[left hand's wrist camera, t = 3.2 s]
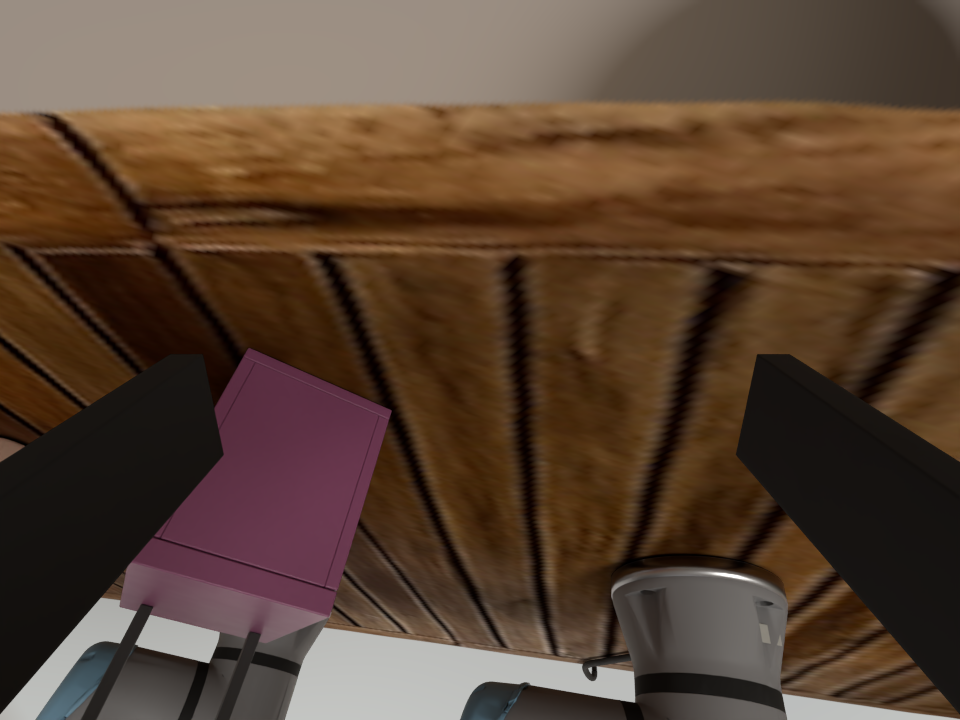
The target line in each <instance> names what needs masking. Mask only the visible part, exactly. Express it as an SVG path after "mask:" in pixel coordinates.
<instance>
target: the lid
mask: <svg viewBox="0 0 960 720" xmlns="http://www.w3.org/2000/svg"><path fill="white" fill-rule="evenodd" d="M336 594H337V592H335V591H332V590H329V589H325V588H322V587H319V586H315V585H312V584H309V583H305V582H302V581H298V580H295V579H292V578H288V577H285V576H282V575H278V574H275V573H272V572H268V571H265V570H261V569H258V568H255V567H251V566H248V565H245V564H241V563H238V562H235V561H231V560H228V559H224V558H221V557H218V556H214V555H211V554H208V553H204V552H201V551H198V550H194V549H191V548H187V547H184V546H181V545H177V544H174V543H171V542H167V541H164V540H161V539H157V538H154V537H153V538H152V539H151V540H150V541H149V542H148V543H147V545H146V546H145V547H144V548H143V549H142V550H141V552H140V553H139V554H138V555H137V556H136V557H135V559H134V560H133V561H132V562H131V563H130V564H129V566H128V567H127V570H126V575H125V580H124V586H123V591H122V596H121V601H120V607H122V608H126V609H130V610H134V611H137V613H136V614H135V616H134V618H133V620H132V622H131V624H130V626H129V628H128V630H127V632H126V634H125V636H124V637H123V639H122V641H121V643H120V645H119V647H118V649H117V651H116V653H115V655H114V657H113V658H112V660H111V662H110V664H109V666H108V668H107V670H106V672H105V674H104V676H103V678H102V679H101V681H100V683H99V685H98V687H97V689H96V691H95V693H94V695H93V697H92V699H91V701H90V702H89V704H88V706H87V708H86V710H85V712H84V714H83V716H82V718H81V720H97V718H98V716H99V714H100V712H101V710H102V708H103V706H104V704H105V702H106V700H107V698H108V696H109V694H110V692H111V690H112V689H113V687H114V685H115V683H116V681H117V679H118V677H119V675H120V673H121V671H122V669H123V667H124V665H125V663H126V661H127V659H128V657H129V655H130V653H131V651H132V649H133V647H134V645H135V643H136V641H137V639H138V637H139V635H140V633H141V631H142V629H143V627H144V625H145V623H146V621H147V619H148V617H149V615H154V616H158V617H162V618H166V619H170V620H174V621H178V622H182V623H186V624H190V625H194V626H198V627H202V628H206V629H210V630H214V631H218V632H222V633H226V634H230V635H234V636H238V637H242V638H246V640H245V643H244V645H243V648H242V650H241V653H240V655H239V658H238V661H237V663H236V666H235V668H234V671H233V674H232V676H231V679H230V681H229V684H228V687H227V689H226V692H225V694H224V697H223V699H222V702H221V705H220V707H219V710H218V712H217V715H216V718H215V720H230V717H231V715H232V712H233V709H234V707H235V704H236V701H237V699H238V696H239V693H240V690H241V688H242V685H243V682H244V680H245V677H246V674H247V672H248V669H249V666H250V663H251V661H252V658H253V655H254V653H255V650H256V647H257V645H258V642H262V643H268V642H270V641H273V640H275V639H277V638H280V637H282V636H285V635H287V634H290V633H292V632H294V631H297V630H299V629H302V628H304V627H306V626H309V625H311V624H314V623H316V622H319V621H321V620H323V619H326V618H328V617H330V614H331V611H332V607H333V604H334V601H335V597H336Z"/></svg>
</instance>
